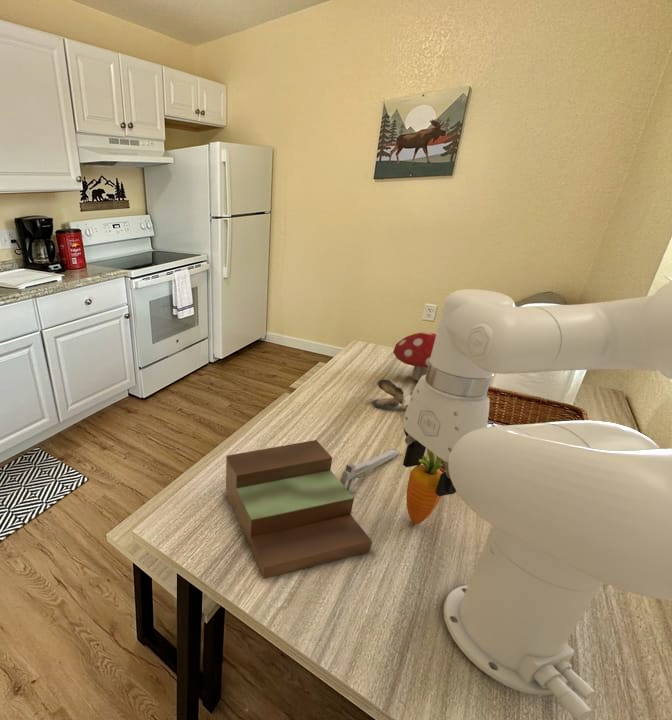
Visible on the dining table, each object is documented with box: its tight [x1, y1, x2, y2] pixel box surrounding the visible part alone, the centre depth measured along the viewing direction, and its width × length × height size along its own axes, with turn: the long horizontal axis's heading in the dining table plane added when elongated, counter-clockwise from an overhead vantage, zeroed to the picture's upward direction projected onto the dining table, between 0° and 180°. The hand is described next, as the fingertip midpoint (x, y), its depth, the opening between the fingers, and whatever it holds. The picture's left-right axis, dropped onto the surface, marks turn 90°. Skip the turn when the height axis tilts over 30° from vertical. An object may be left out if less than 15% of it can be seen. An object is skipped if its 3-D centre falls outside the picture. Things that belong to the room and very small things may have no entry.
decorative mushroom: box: [392, 332, 437, 382], centre depth 110 cm, size 16×16×15 cm
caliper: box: [339, 448, 400, 492], centre depth 76 cm, size 20×1×6 cm, turn 127°
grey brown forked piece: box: [371, 378, 413, 408], centre depth 99 cm, size 8×7×9 cm
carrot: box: [405, 448, 444, 525], centre depth 62 cm, size 5×5×15 cm
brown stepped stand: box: [225, 439, 373, 579], centre depth 65 cm, size 18×18×9 cm
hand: (427, 477), depth 61 cm, fingers open, 6 cm apart
